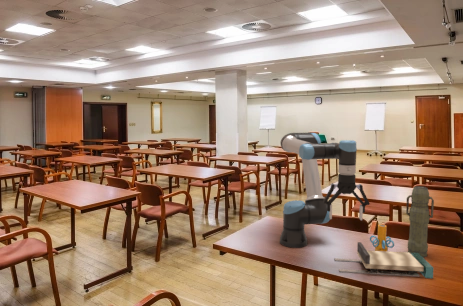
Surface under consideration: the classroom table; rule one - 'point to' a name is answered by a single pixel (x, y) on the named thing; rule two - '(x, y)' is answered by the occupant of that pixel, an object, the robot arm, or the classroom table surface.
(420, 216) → the thermos
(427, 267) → the track
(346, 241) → the classroom table surface
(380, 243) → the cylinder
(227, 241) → the classroom table surface
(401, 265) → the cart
